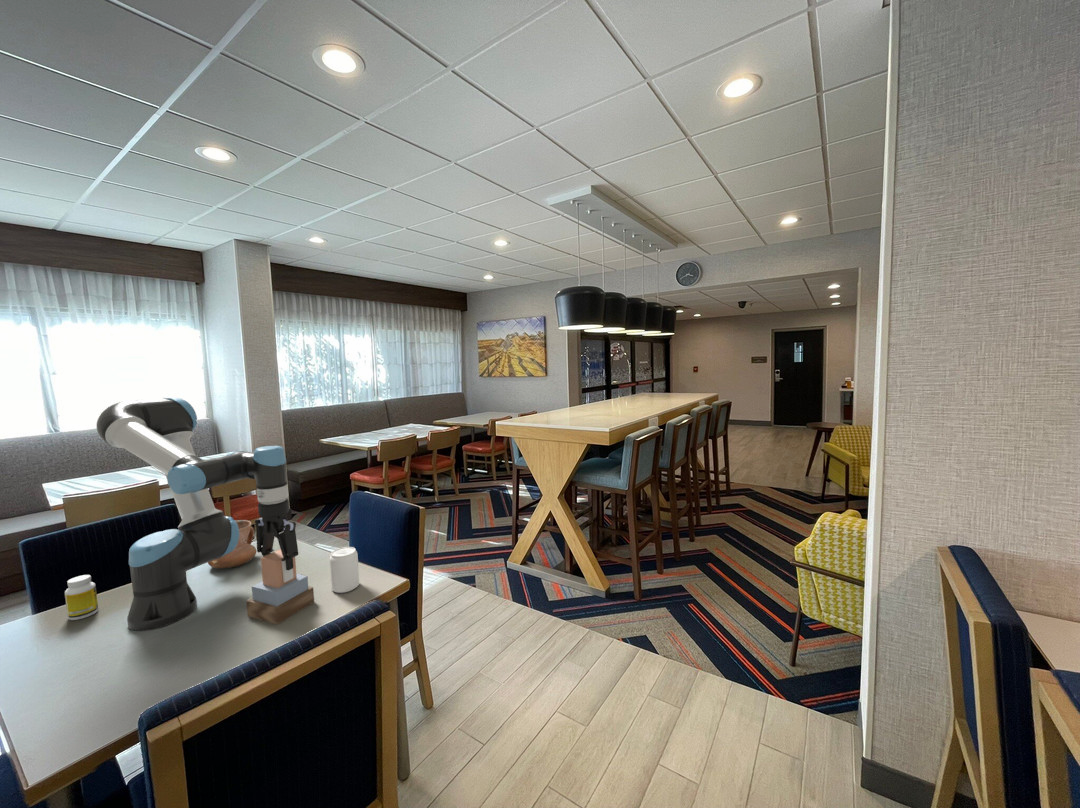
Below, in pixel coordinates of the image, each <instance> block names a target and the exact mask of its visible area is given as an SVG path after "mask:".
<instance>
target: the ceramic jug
mask: <svg viewBox="0 0 1080 808" xmlns="http://www.w3.org/2000/svg"><path fill="white" fill-rule="evenodd" d="M234 520H235V519H234ZM235 521H236V523H237V525H238V528H239V541H238V544H237V546H236V548H235V549H234V550H233V551H232V552H230V553H228V554H226V555H224V556H222V557H220V558H218V559H215V560H212V561H210V562H207V564H208V565H209V566H210V567H211V568H214V569H219V570H220V569H232V568H235V567H239V566H242V565H245V564H246V563H248V562H250V561H251V560H252V559H253V558H254V557H255V556H256V555H257V547H255V546H254V545H252V542H253V539H254V535H255V530H254V529H255V528H253V527H252V521H251V520H247V519H239V520H235Z"/></svg>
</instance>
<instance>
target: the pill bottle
mask: <svg viewBox="0 0 1080 808" xmlns="http://www.w3.org/2000/svg"><path fill="white" fill-rule="evenodd" d="M66 582H67V587H68V588H66V590H64V598H65V607H66V614H67V618H68V620H69V621H79V620H82V619H86V618H88V617H91V616H93V615H95V614H96V613H97V612H98V611H99V602H98V594H97V587H96V583H95V582H93V581H92V576H91V575H90V574H83V575H78V576H75V577H72V578H70V579H68V580H67V581H66Z"/></svg>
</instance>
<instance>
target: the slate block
mask: <svg viewBox="0 0 1080 808" xmlns="http://www.w3.org/2000/svg"><path fill="white" fill-rule="evenodd" d="M296 576H297V578H296V579H294V580H292V581H291V582H289V583H287V584H285V585H283V586H281V587H279V588H275V587H271V586H267V585H263V580H262V581H260V582H258V583H256V584H254V585H252V586H251V596H252V598H253V600H255V601H259V602H263V603H266V604H270V605H274V606H279V605H281V604H283V603H284V602H286V601H288V600H290V599H292V598H293V597H295V596H297V595H299V594H300V593H302V592H304V591H306V590H308V586H309V580H308V579H309V578H308V575H303V574H300V573H296Z"/></svg>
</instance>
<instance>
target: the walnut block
mask: <svg viewBox="0 0 1080 808" xmlns="http://www.w3.org/2000/svg"><path fill="white" fill-rule="evenodd" d="M314 593H315V591H314V586H309V585H308V590H306V591H304V592H302V593H300V594H299V595H297V596H295V597H293V598H292V599H290V600H288V601H286V602H284V603H283V604H281V605H279V606H274V605H270V604H266V603H263V602H259V601H255V600H253V597H251V598H249V599H247V600H246V602H245V603H246V612H247V614H246V615H247V617H250V618H253V619H257V620H261V621H263V622H268V623H271V624H275V625H280V624H281V623H282V622H284V621H286V620H288V619H289V618H290V617H292V616H294V615H296V614H297V613H299V612H300V611H303V609H305V608H307V607H309V606H310V605H312V604H313V603H315V595H314Z"/></svg>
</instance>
